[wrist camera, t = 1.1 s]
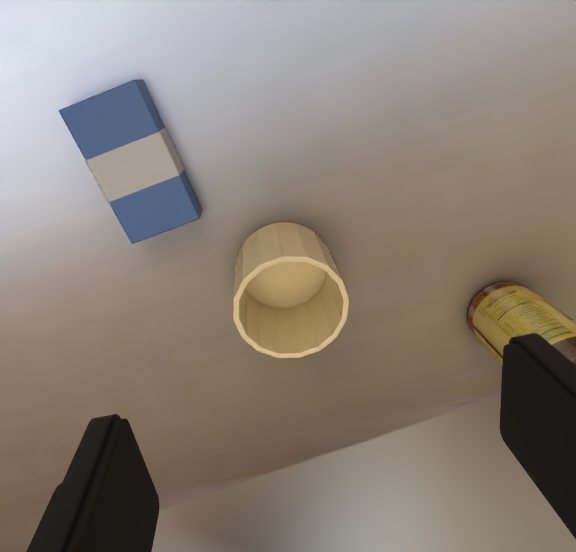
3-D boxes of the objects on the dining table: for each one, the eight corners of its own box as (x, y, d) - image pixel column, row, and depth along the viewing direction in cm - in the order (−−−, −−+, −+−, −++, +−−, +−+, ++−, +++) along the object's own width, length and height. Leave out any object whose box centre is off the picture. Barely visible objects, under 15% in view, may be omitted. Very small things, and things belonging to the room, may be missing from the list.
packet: (70, 108, 31) (57, 110, 29) (143, 78, 31) (135, 79, 29) (138, 234, 35) (131, 244, 33) (203, 209, 35) (200, 218, 33)
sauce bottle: (528, 329, 42) (735, 517, 24) (464, 342, 43) (623, 540, 24) (531, 267, 40) (767, 428, 22) (462, 282, 40) (641, 455, 22)
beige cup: (220, 242, 36) (214, 281, 30) (313, 207, 36) (328, 239, 29) (256, 320, 40) (258, 372, 33) (341, 290, 39) (361, 336, 32)
